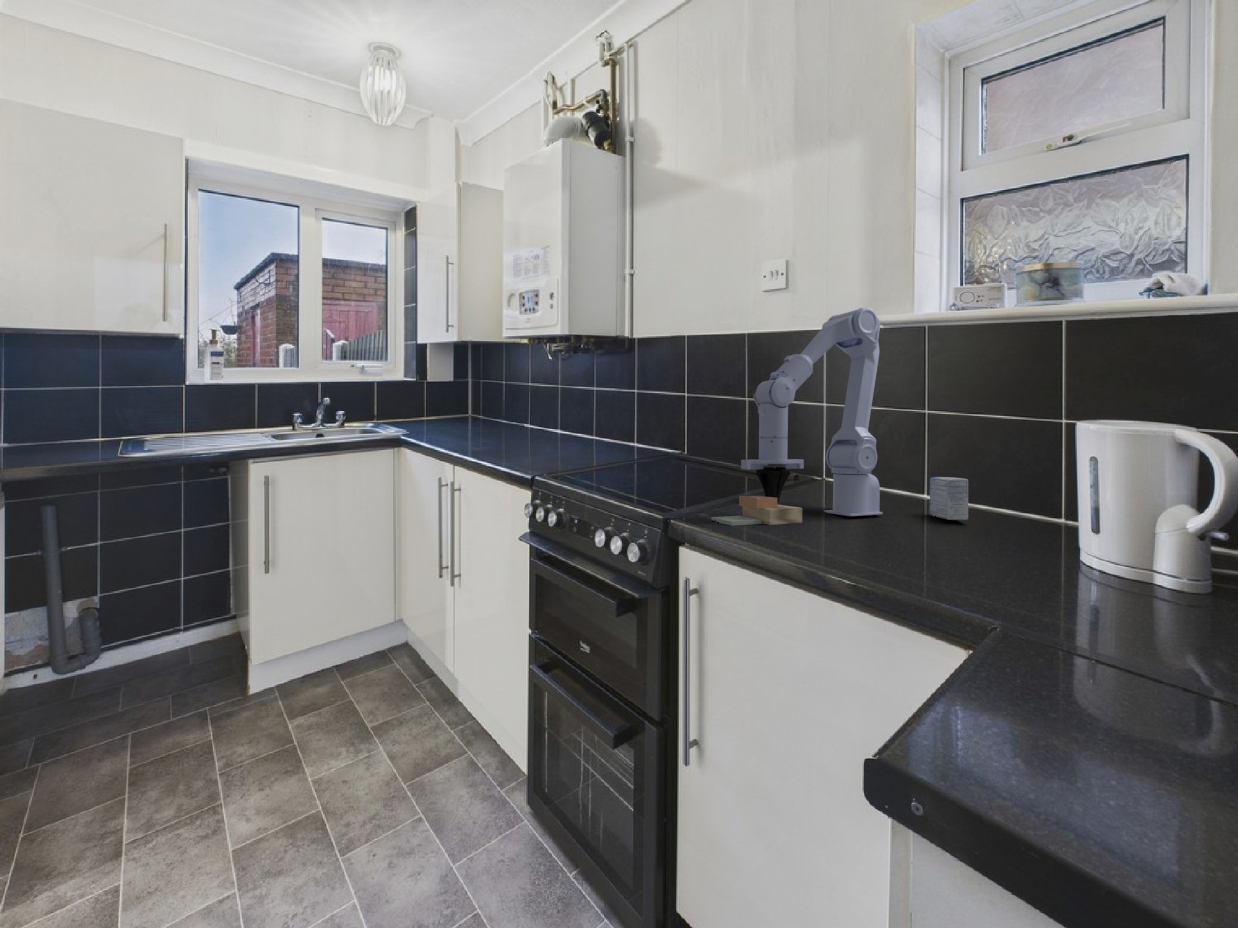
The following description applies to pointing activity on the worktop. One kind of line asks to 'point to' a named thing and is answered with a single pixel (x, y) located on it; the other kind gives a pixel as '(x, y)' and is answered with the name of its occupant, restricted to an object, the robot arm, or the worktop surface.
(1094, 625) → the worktop surface
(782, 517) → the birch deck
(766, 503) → the terracotta block
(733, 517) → the sage mat
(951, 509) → the medicine box
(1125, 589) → the worktop surface
